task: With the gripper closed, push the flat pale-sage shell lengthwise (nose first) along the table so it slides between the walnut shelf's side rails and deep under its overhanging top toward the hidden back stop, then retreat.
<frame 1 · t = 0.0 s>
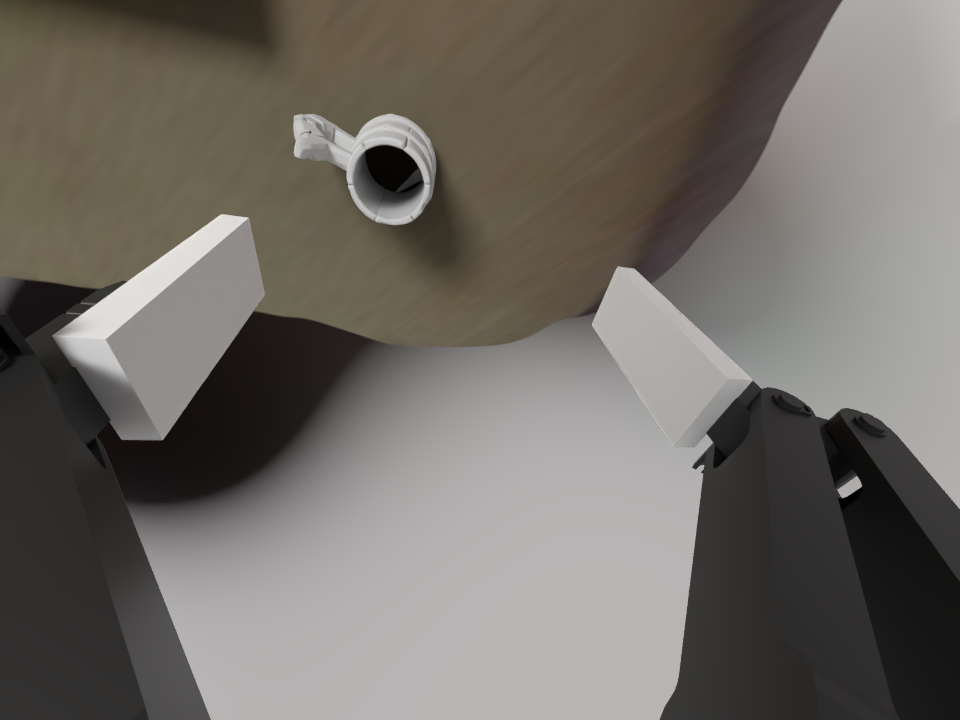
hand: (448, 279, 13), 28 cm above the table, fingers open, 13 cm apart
mug: (376, 149, 34), on the table
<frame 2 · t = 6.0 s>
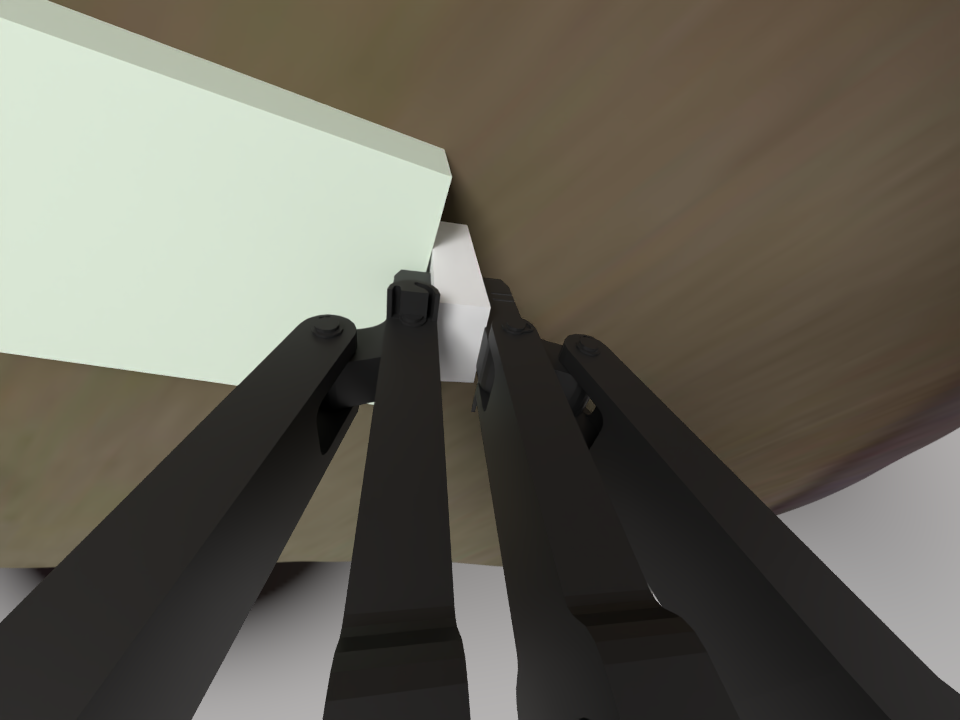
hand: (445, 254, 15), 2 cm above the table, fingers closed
sage shell: (167, 193, 14), on the table, touching gripper
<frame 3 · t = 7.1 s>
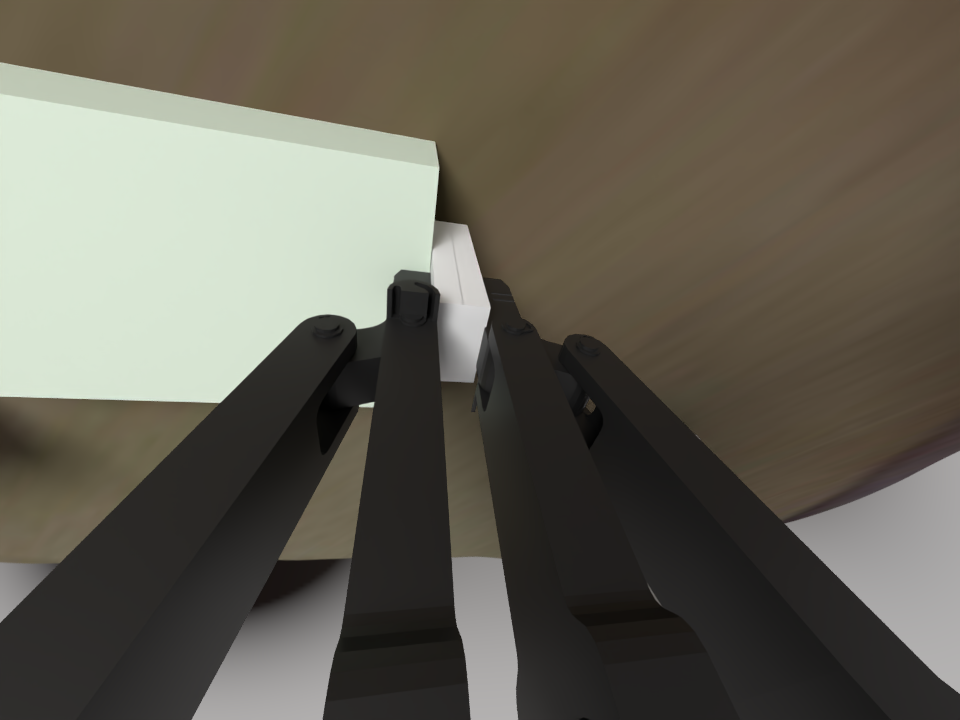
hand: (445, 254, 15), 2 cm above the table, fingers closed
sage shell: (186, 233, 15), on the table
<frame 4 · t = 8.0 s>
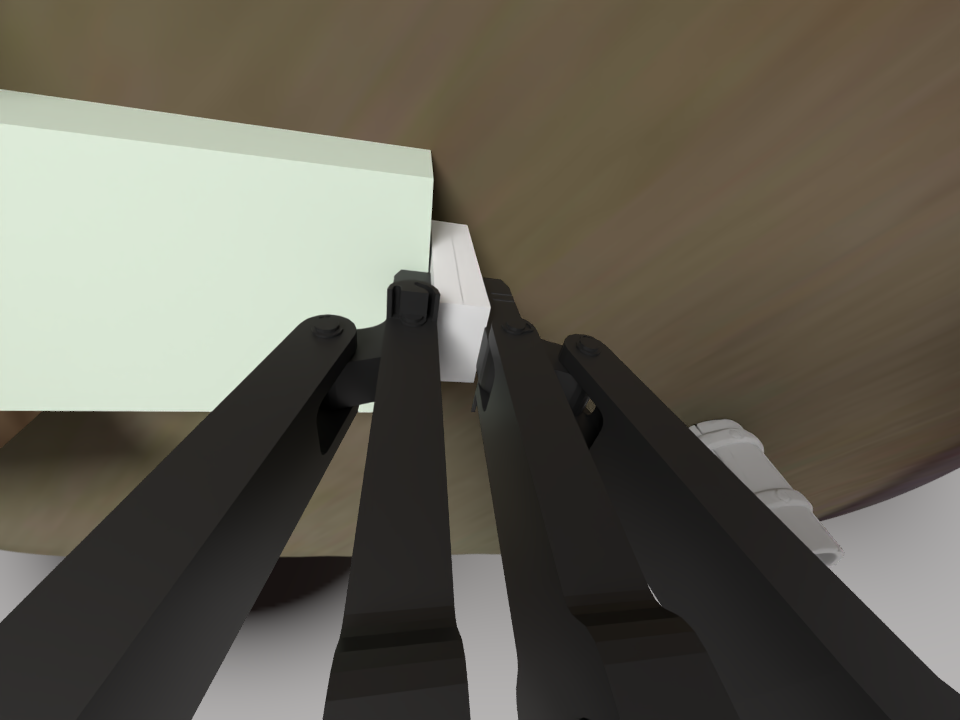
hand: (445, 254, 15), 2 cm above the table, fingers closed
sage shell: (192, 247, 15), on the table, touching gripper
mug: (681, 439, 30), on the table
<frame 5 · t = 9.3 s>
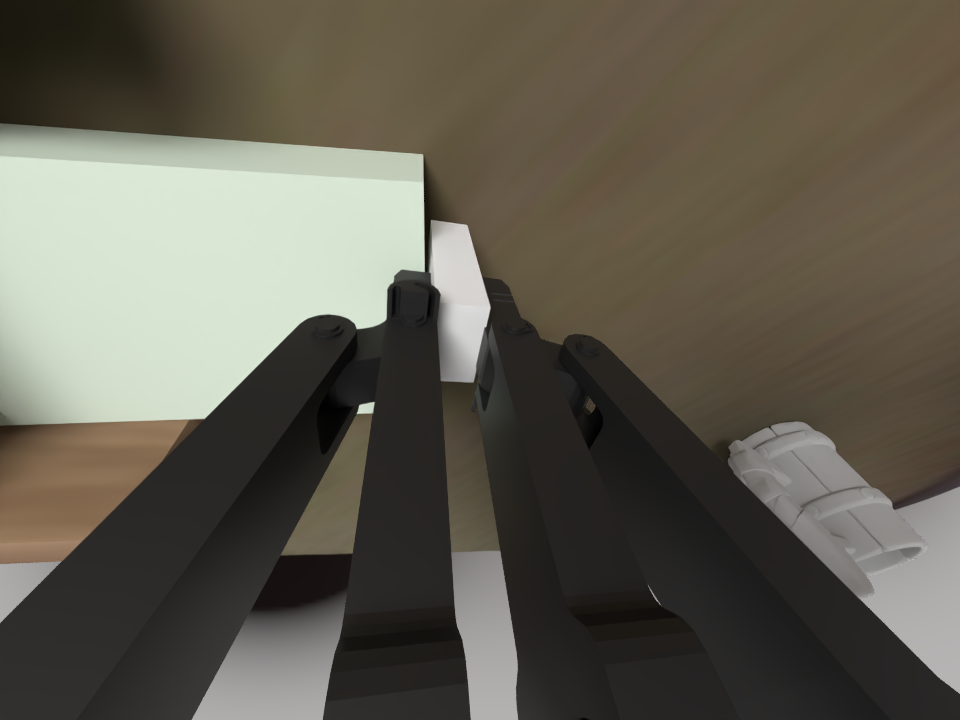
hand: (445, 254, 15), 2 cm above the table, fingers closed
sage shell: (201, 261, 16), on the table
walnut shelf: (101, 189, 13), on the table
mug: (752, 440, 31), on the table
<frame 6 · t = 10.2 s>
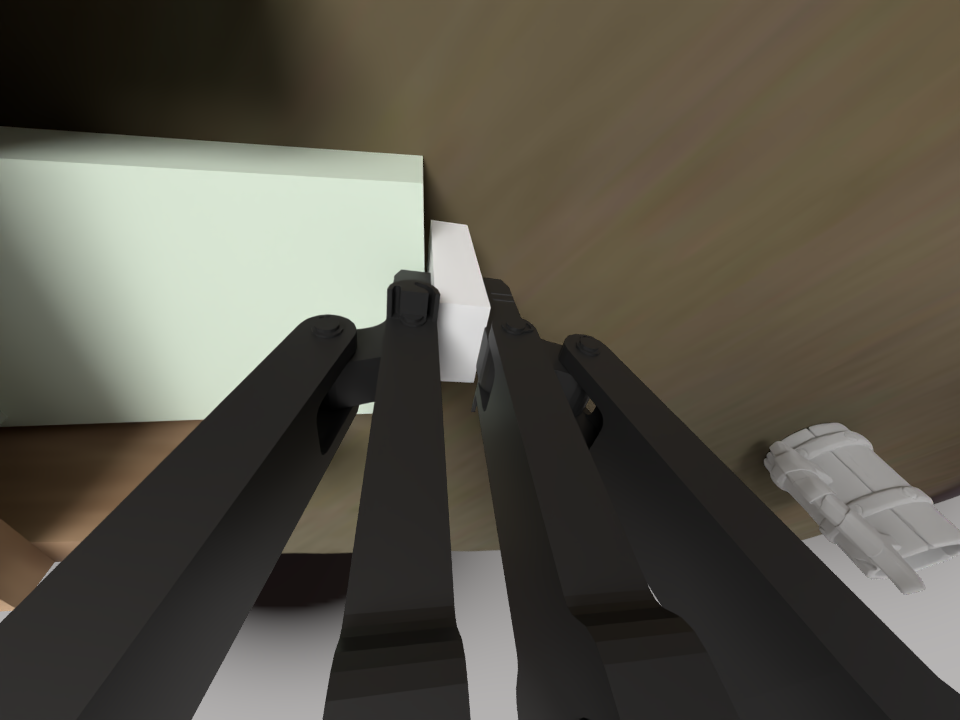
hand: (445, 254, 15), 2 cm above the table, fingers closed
sage shell: (202, 262, 16), on the table, touching gripper
walnut shelf: (220, 207, 14), on the table
mug: (789, 441, 32), on the table
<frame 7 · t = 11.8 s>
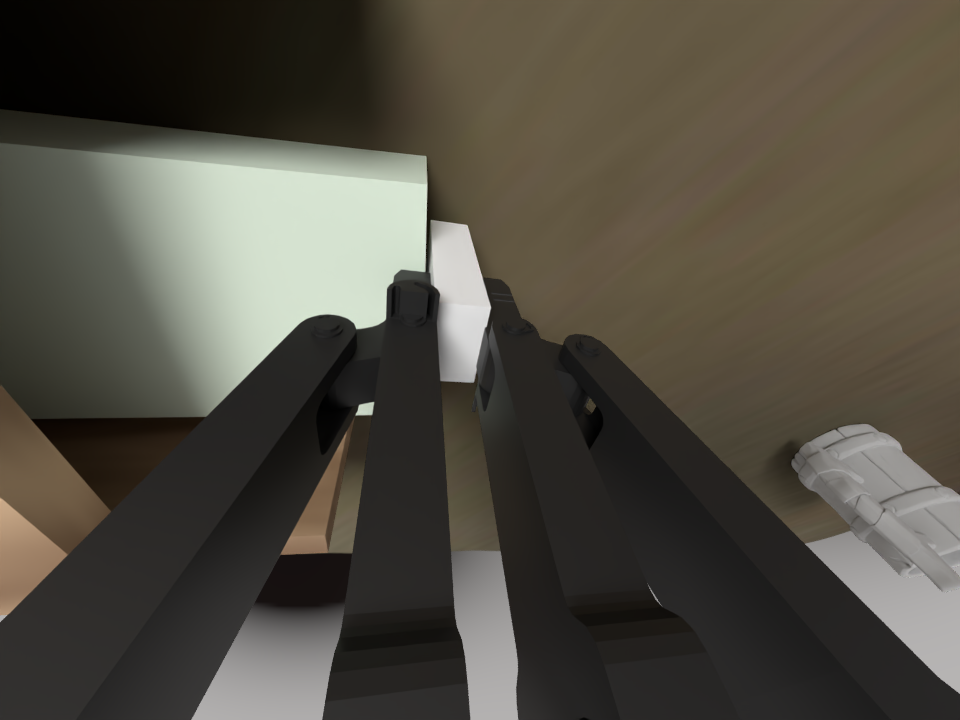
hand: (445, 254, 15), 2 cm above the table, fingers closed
sage shell: (196, 256, 16), on the table
walnut shelf: (301, 221, 15), on the table
mug: (817, 441, 32), on the table
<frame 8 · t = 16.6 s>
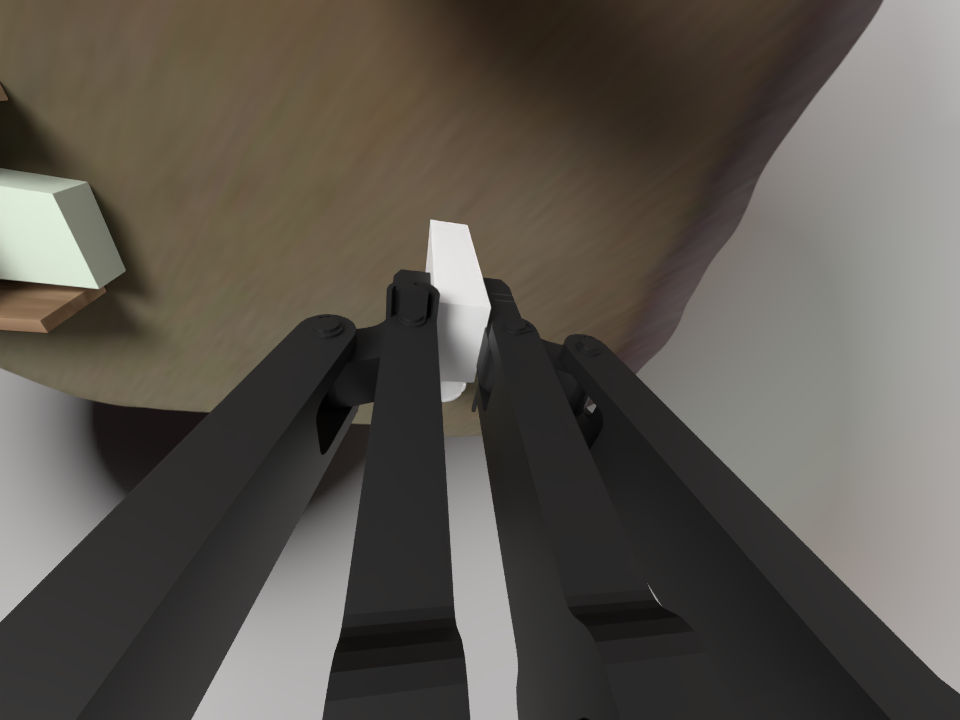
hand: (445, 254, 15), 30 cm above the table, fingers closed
walnut shelf: (38, 200, 37), on the table
mug: (428, 337, 55), on the table
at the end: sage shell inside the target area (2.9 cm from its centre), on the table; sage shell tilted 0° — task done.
